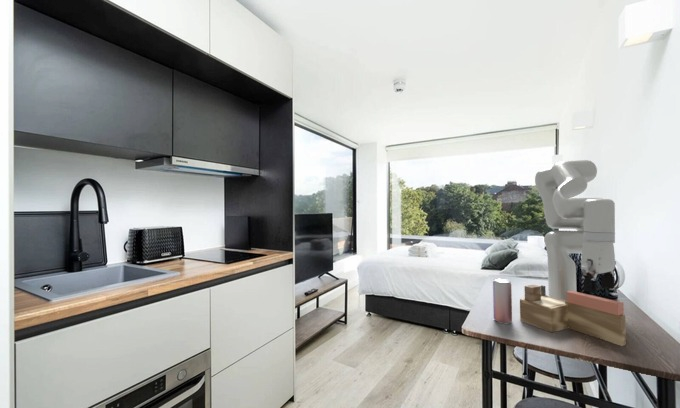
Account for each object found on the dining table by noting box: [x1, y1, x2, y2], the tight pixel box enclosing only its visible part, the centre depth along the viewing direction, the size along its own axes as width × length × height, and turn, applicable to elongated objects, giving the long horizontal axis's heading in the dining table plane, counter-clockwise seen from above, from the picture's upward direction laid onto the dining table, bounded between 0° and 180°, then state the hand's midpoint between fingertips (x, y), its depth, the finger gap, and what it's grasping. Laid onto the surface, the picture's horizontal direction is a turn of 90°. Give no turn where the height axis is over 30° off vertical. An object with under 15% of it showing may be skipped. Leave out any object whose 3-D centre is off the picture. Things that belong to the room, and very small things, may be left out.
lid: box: [524, 284, 565, 307], centre depth 104 cm, size 11×9×6 cm
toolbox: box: [519, 285, 627, 347], centre depth 98 cm, size 13×26×12 cm, turn 23°
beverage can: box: [492, 278, 513, 325], centre depth 107 cm, size 6×6×15 cm
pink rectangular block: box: [567, 291, 625, 316], centre depth 94 cm, size 3×14×4 cm, turn 23°
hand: (599, 289), depth 93 cm, fingers open, 9 cm apart
